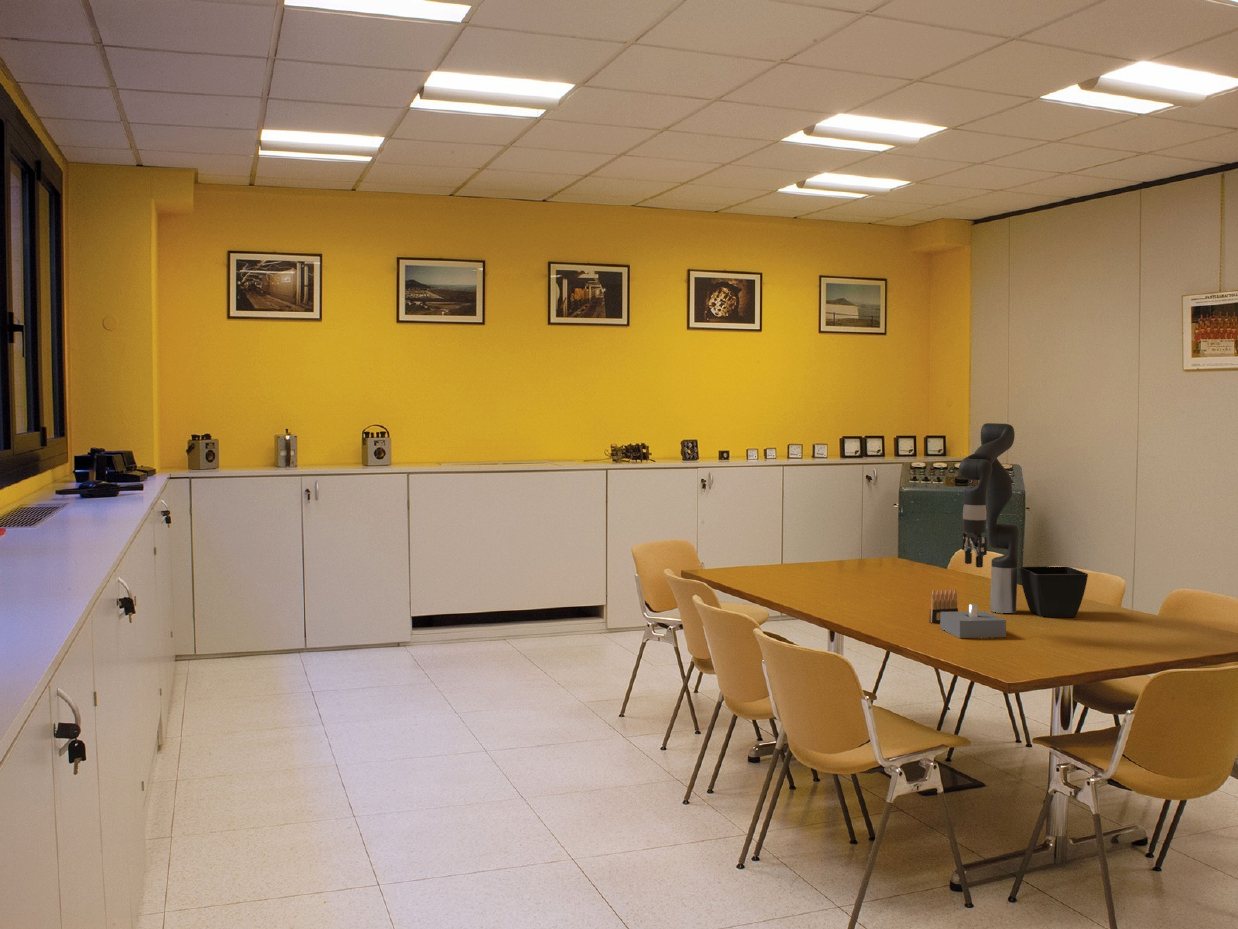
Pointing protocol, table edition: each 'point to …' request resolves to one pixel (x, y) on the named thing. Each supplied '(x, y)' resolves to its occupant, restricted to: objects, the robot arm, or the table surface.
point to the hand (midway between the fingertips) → (973, 565)
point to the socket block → (973, 625)
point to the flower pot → (1053, 590)
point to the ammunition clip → (942, 604)
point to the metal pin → (973, 610)
